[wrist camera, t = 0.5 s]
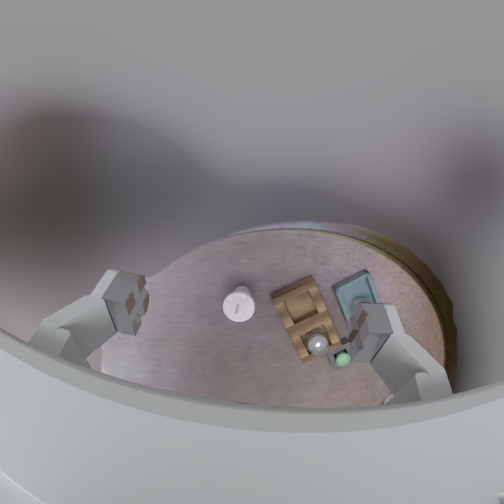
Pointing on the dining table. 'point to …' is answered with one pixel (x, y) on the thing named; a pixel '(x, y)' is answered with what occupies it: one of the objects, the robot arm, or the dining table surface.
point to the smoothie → (239, 304)
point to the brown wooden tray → (305, 315)
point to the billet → (356, 300)
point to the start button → (342, 358)
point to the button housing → (344, 346)
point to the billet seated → (316, 341)
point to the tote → (354, 291)
